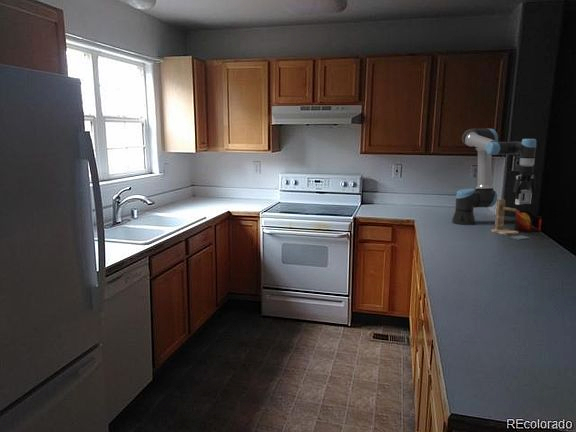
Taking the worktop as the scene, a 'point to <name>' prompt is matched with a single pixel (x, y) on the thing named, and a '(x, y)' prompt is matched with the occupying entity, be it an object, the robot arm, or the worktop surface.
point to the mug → (526, 221)
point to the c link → (527, 196)
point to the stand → (502, 218)
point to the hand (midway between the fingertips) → (522, 203)
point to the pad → (520, 237)
